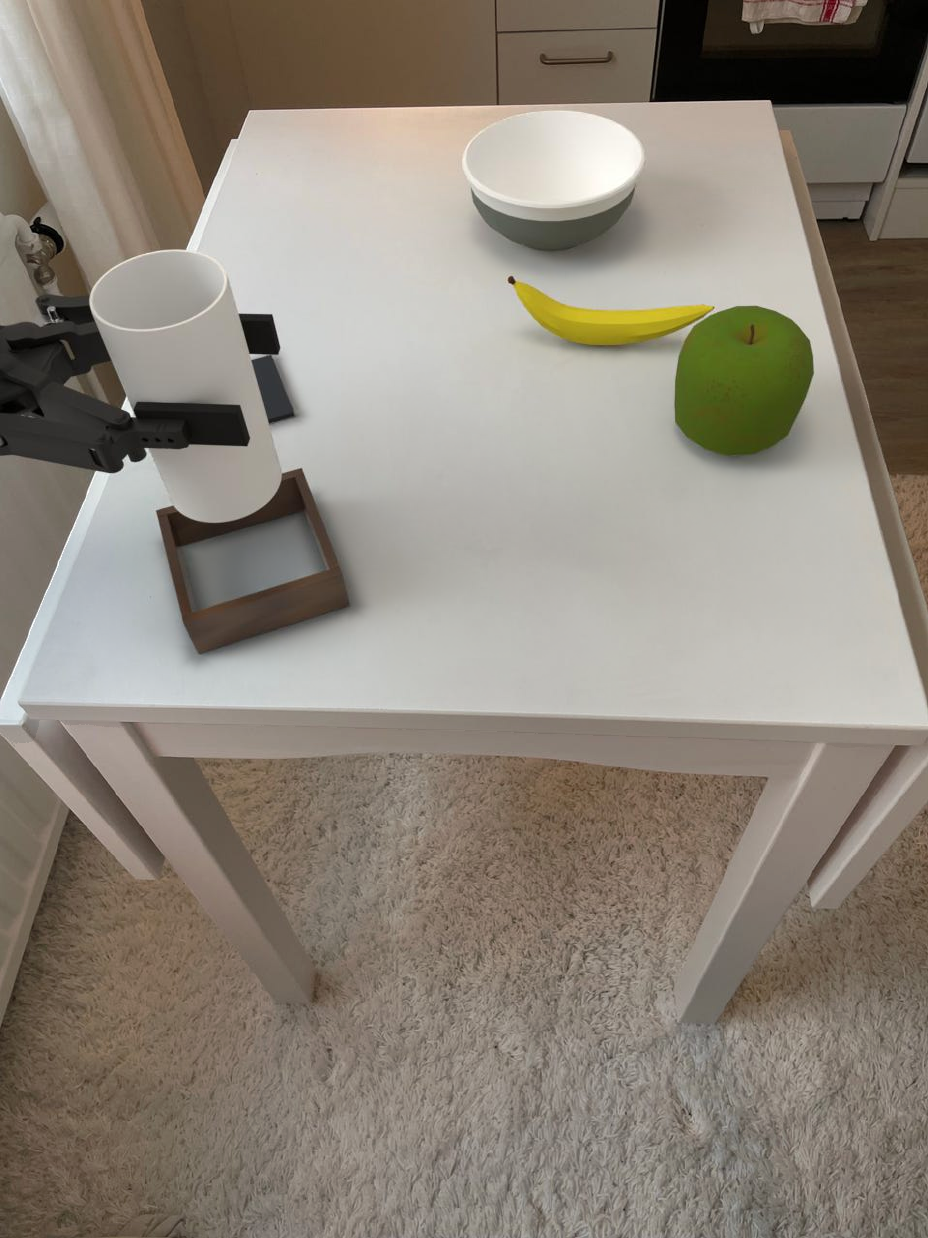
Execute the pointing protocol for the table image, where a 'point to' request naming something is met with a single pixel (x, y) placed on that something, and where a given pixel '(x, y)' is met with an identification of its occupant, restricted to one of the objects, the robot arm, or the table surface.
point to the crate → (263, 606)
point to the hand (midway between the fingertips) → (259, 378)
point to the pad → (272, 390)
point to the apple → (742, 380)
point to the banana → (605, 319)
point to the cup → (189, 374)
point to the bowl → (553, 176)
